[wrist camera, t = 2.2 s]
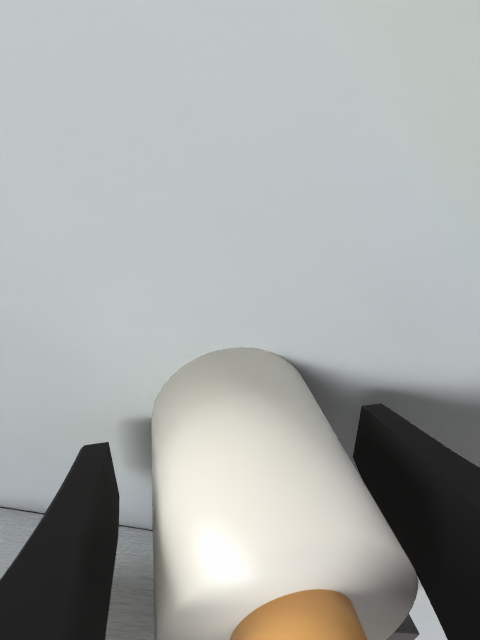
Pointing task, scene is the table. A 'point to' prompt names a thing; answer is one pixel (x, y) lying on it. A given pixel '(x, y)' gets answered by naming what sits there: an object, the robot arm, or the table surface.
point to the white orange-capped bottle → (264, 513)
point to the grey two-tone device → (121, 577)
